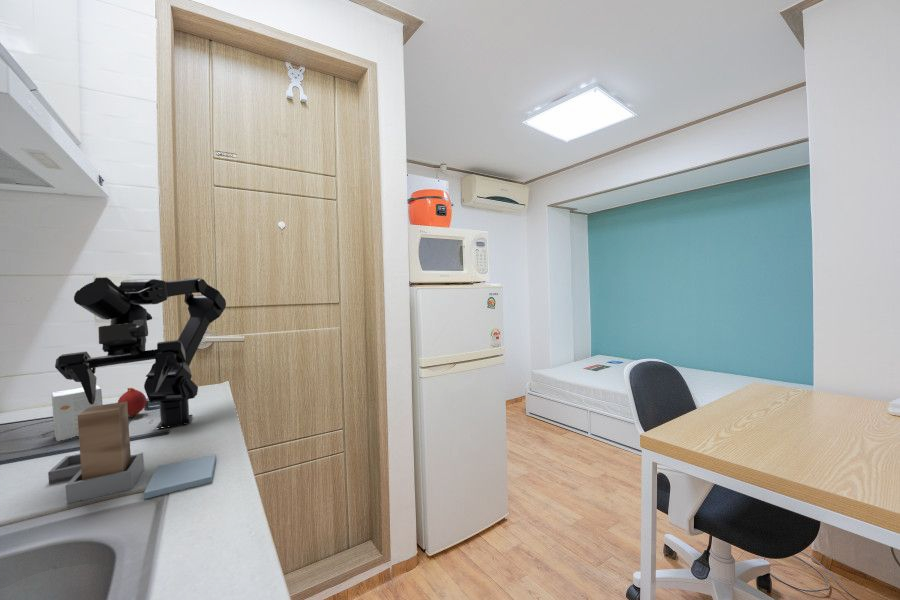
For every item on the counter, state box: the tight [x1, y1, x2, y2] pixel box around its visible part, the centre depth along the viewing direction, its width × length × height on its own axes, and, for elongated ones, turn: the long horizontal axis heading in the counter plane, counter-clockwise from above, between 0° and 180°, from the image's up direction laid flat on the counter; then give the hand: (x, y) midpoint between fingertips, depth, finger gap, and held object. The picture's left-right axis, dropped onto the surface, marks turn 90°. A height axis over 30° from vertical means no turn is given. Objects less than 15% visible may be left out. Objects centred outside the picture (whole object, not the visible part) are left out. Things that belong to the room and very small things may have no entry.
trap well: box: [47, 453, 81, 484], centre depth 67 cm, size 7×7×2 cm
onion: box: [117, 386, 147, 417], centre depth 96 cm, size 6×6×8 cm
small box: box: [51, 384, 104, 442], centre depth 85 cm, size 8×6×10 cm
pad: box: [143, 453, 217, 500], centre depth 64 cm, size 10×9×1 cm
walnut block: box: [78, 401, 132, 480], centre depth 61 cm, size 5×5×14 cm
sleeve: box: [65, 452, 145, 505], centre depth 62 cm, size 8×8×3 cm
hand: (123, 397), depth 68 cm, fingers open, 9 cm apart
